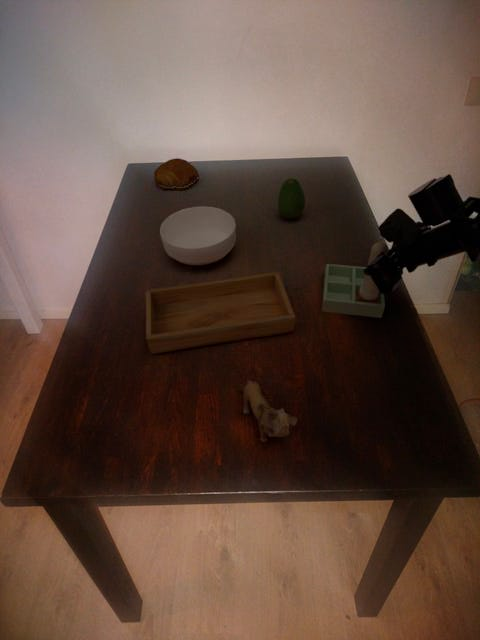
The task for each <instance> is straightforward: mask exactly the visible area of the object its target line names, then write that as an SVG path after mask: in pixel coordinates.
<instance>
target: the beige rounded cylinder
mask: <svg viewBox="0 0 480 640" xmlns="http://www.w3.org/2000/svg"><path fill="white" fill-rule="evenodd" d="M388 250H389V247H388V245H387V244H386V243H385V242H383V241H378V242H376V243H374V244H373V245H372V246H371V249H370V254H369V258H368V261H367V266H368V265H369V264H370V263H371V262H372V261H373V260H374V259H376V257H377V256H378V255H379V254H380V253H381V252H382V251H383V252H384V254H385V255H386V256H387V254H388ZM378 292H379V291H378V288H377V286H376V285H375V283H374V281H373V279H372V278H371V276H369V275H365V278H364V282H363V286H361V287H360V290H359V295H360V296H361V297H362V298H364V299H367V300H373V299H375V298H377V296H378Z"/></svg>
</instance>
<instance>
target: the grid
mask: <svg viewBox="0 0 480 640" xmlns="http://www.w3.org/2000/svg"><path fill="white" fill-rule="evenodd" d="M366 268H367V266H359V265H358V266H356V265H346V264H333V263H325V271H324V278H323V279H324V280H323V290H322V303H321V312H323V313H324V312H325V313H332V314H333V313H334V314H342V315H343V314H344V315H351V316H361V317H369V318H378V319H382V317H383V315H384V311H385V309H386V300H385V294H381V293H380V291H379V290H378V291H379V292H378V296H377V298H375V299H373V300H367V299H364V298H362V297H361V296H360V295H359V290H360V287H361V286H363V282H364V278H365V273H364V272H363V270H364V269H366Z"/></svg>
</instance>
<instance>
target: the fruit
mask: <svg viewBox="0 0 480 640" xmlns="http://www.w3.org/2000/svg"><path fill="white" fill-rule="evenodd" d="M305 206H306V197H305V194H304V190H303V189H302V186H301V184H300V182H299V180H297V179H296V178H294V177H293V178H292V177H290V178H288V179H285V180H284V182H283V183H282V185H281V188H280V191H279V194H278V198H277V207H278V211H279V213H280V214H281V216H282V217H284V218H285V219H289V220H292V219H295V218H297V217H299V216H301V214H302V213H303V212H304V209H305Z"/></svg>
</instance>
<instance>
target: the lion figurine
mask: <svg viewBox="0 0 480 640" xmlns="http://www.w3.org/2000/svg"><path fill="white" fill-rule="evenodd" d="M237 391H238V392H239V393H243V400H244V401H243V409H242V410H243V411H242V412H243V415H246V416H247V415H249V414H250V408H251V411H252V413H253V415H254V417H255V418H256V420H257V425H258V430H259V434H260V436H259V439H260V441H261V442H263V443H265V442H267V441H268V437H269V438H275V437H277V438H284V437H287V436H288V435H290V428H293V426H296V425H297V422H298V417H296V416H291V415H290V414H289V413H286V412H285V409H284V408H283V407H281V408H280V409H275V408H274V407H271V406H270V404H269V403H268V401H267V400H266V399H265V397H264V396H263V394H262V388H261V385H260V384H259V382H257V381H252V380H248V381H247V382H246V384H245V386H244V388H237ZM249 403H250V407H249Z"/></svg>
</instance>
